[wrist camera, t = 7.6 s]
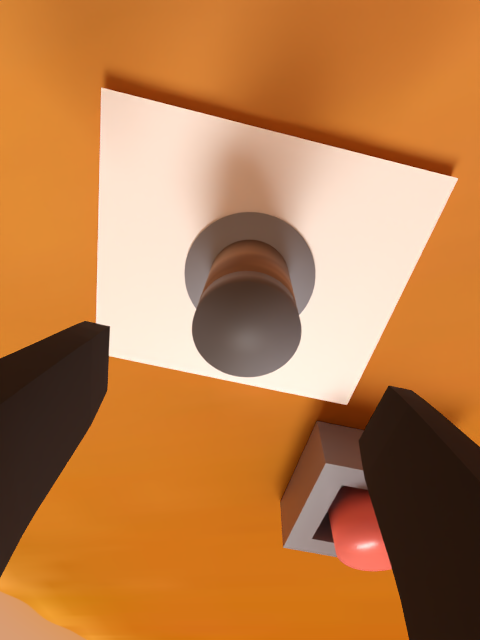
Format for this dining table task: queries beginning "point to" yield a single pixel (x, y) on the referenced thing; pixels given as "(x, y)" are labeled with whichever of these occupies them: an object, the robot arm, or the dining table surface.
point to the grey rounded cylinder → (247, 312)
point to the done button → (357, 531)
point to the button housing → (320, 487)
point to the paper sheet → (252, 236)
